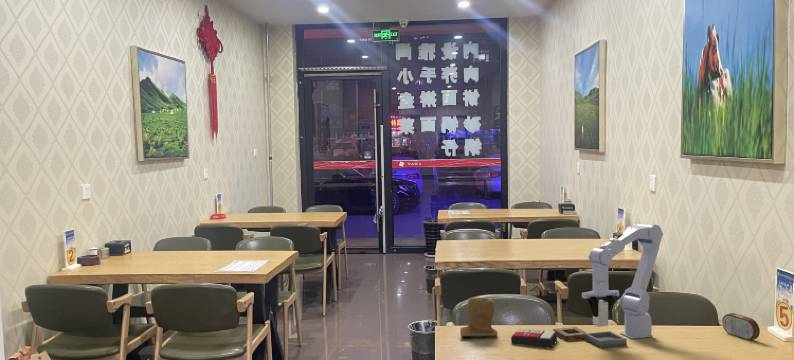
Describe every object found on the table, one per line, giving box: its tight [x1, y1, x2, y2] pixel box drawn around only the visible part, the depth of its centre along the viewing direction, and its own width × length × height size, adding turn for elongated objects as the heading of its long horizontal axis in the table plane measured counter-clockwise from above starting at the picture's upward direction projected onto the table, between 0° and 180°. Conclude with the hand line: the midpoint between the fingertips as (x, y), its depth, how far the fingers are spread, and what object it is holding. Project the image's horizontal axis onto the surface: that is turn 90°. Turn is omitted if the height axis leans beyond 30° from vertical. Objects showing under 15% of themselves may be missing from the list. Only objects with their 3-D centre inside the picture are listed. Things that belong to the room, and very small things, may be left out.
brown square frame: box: [552, 326, 588, 342], centre depth 245 cm, size 10×10×2 cm
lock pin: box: [592, 299, 609, 328], centre depth 237 cm, size 4×4×9 cm
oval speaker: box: [721, 312, 761, 341], centre depth 241 cm, size 15×3×8 cm, turn 20°
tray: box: [583, 330, 628, 349], centre depth 236 cm, size 11×11×2 cm
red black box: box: [510, 328, 558, 349], centre depth 239 cm, size 11×4×15 cm
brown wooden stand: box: [459, 297, 499, 338], centre depth 248 cm, size 15×12×15 cm
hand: (600, 316), depth 237 cm, fingers closed on lock pin, 4 cm apart
